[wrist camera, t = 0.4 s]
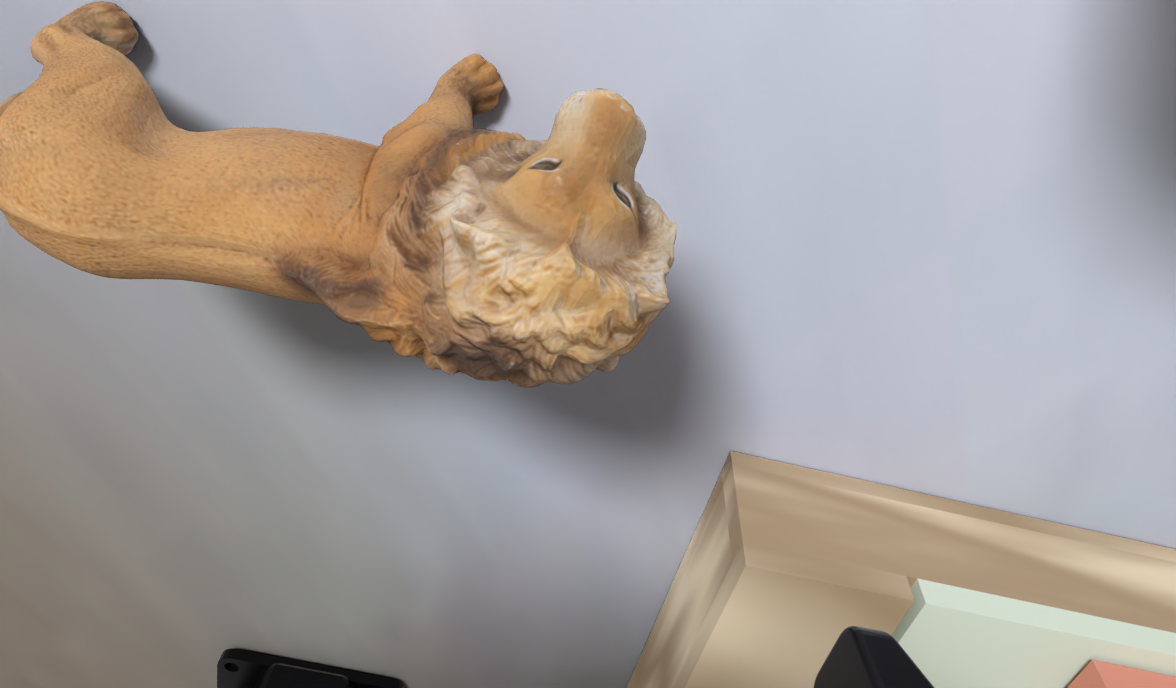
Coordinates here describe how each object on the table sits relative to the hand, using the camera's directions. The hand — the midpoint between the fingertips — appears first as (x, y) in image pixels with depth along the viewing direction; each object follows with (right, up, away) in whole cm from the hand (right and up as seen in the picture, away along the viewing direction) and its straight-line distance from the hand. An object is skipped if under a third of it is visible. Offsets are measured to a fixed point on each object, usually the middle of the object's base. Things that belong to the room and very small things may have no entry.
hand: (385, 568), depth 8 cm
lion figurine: (-3, +8, +12) cm, 14 cm away
